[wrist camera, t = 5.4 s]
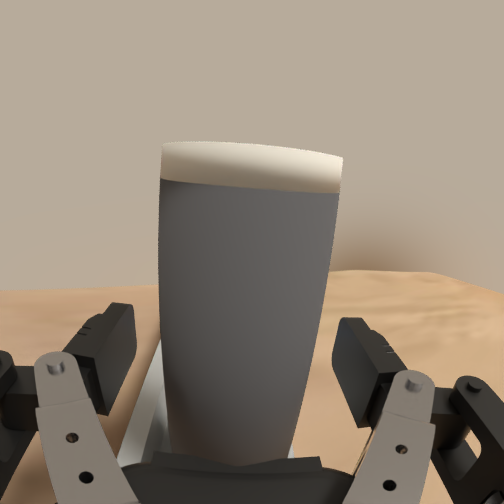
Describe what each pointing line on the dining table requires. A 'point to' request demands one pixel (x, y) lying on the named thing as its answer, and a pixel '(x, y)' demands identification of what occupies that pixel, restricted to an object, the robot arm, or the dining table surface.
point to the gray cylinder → (241, 291)
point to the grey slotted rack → (150, 420)
